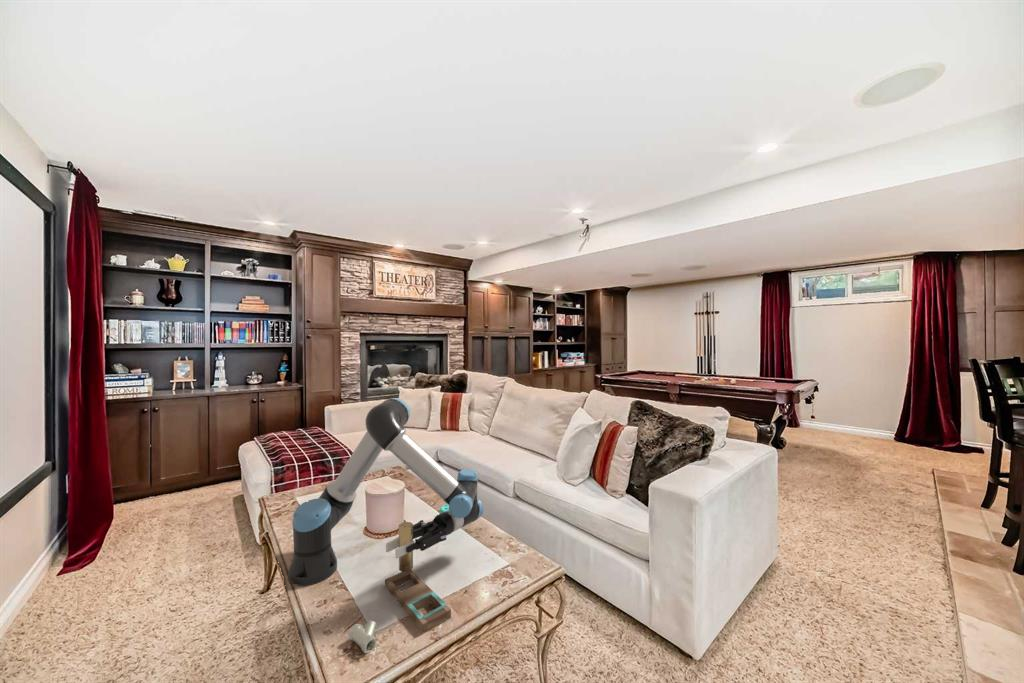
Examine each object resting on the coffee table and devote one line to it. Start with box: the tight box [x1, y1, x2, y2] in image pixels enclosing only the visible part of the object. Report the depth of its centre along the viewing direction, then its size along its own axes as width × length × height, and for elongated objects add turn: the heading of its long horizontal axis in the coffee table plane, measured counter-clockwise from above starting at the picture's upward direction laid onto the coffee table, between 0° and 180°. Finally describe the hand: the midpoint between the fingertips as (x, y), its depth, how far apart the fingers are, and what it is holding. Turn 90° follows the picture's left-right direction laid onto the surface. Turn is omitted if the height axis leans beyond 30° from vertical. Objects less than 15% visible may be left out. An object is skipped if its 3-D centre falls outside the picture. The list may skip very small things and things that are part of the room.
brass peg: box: [398, 521, 414, 572], centre depth 128 cm, size 4×4×14 cm
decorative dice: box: [439, 503, 449, 514], centre depth 170 cm, size 8×8×8 cm
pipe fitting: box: [348, 620, 378, 654], centre depth 108 cm, size 8×4×7 cm
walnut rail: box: [384, 569, 452, 634], centre depth 123 cm, size 26×9×3 cm, turn 41°
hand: (391, 550), depth 124 cm, fingers closed on brass peg, 4 cm apart
